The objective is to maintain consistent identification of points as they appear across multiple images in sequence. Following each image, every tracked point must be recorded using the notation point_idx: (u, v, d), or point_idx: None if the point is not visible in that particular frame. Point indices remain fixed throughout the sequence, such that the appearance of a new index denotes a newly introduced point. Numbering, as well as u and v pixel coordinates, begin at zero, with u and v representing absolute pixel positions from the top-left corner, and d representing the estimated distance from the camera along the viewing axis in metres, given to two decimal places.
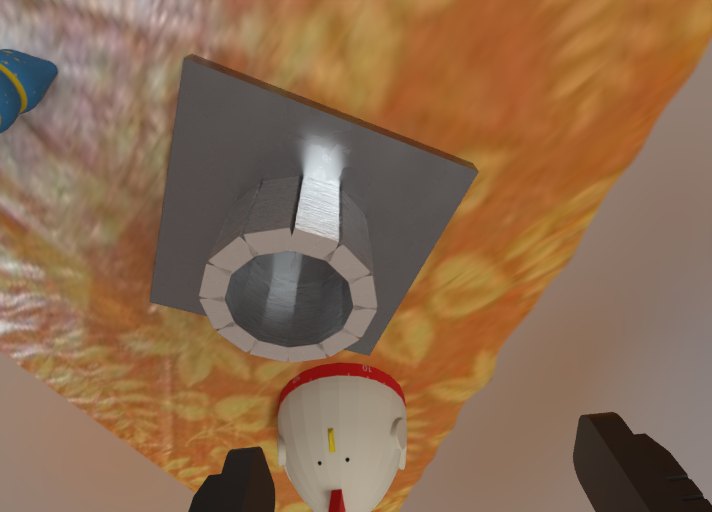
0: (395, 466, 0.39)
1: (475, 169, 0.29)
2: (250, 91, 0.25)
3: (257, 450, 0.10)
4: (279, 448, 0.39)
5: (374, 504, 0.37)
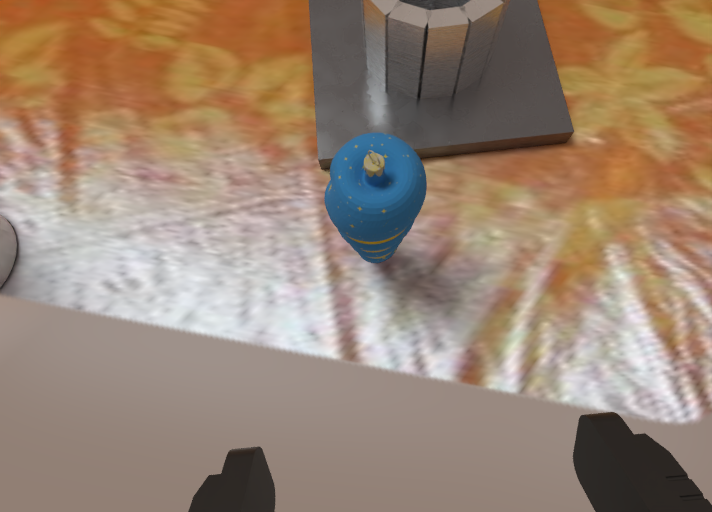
0: None
1: None
2: (321, 116, 0.34)
3: (257, 450, 0.10)
4: None
5: None
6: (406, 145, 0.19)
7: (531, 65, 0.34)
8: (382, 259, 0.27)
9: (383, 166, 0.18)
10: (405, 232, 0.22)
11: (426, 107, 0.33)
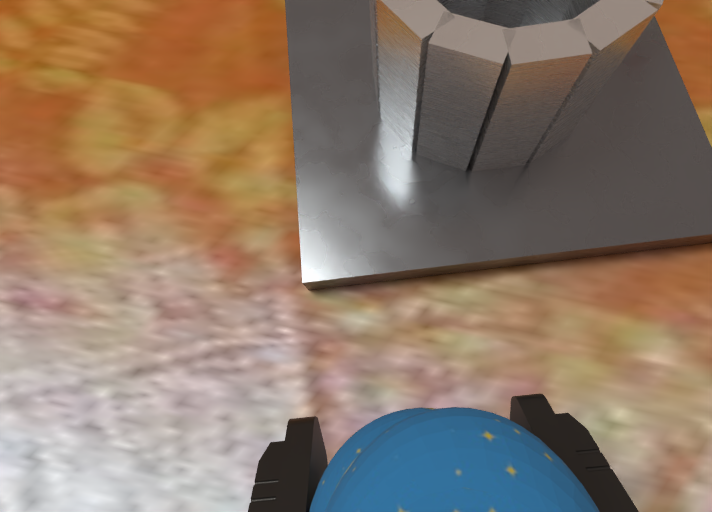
0: None
1: None
2: (306, 203, 0.20)
3: (315, 419, 0.11)
4: None
5: None
6: (565, 490, 0.06)
7: (654, 111, 0.20)
8: None
9: None
10: None
11: (483, 186, 0.20)
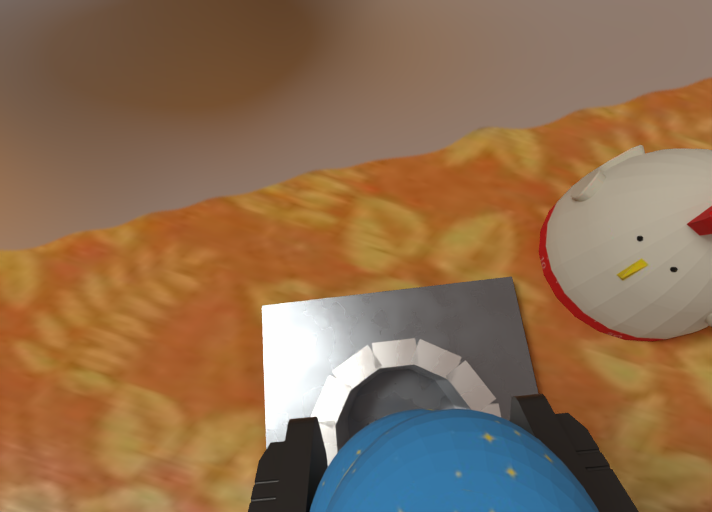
0: (629, 165, 0.28)
1: None
2: None
3: (315, 419, 0.11)
4: None
5: (694, 161, 0.24)
6: (566, 491, 0.06)
7: None
8: None
9: None
10: None
11: None
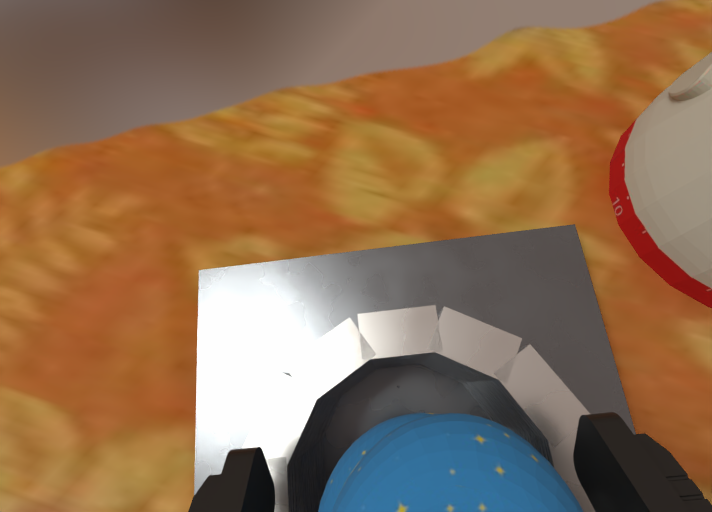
0: None
1: None
2: None
3: (257, 450, 0.10)
4: None
5: None
6: (548, 487, 0.07)
7: None
8: None
9: None
10: None
11: None
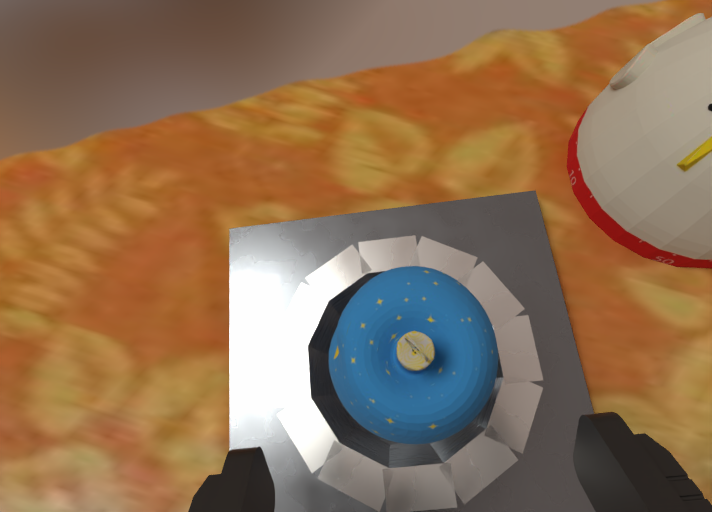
0: (689, 29, 0.22)
1: None
2: None
3: (257, 450, 0.10)
4: None
5: None
6: (464, 294, 0.12)
7: (558, 417, 0.22)
8: None
9: (432, 357, 0.10)
10: None
11: None
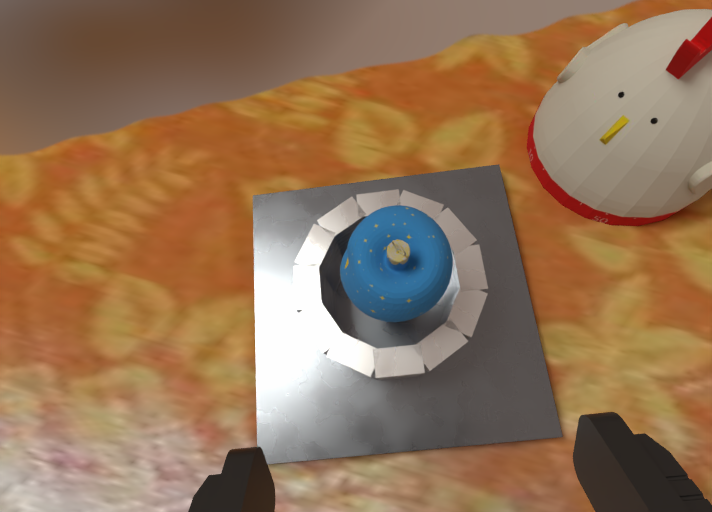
0: (612, 36, 0.28)
1: None
2: (262, 401, 0.28)
3: (257, 450, 0.10)
4: (698, 180, 0.26)
5: (674, 14, 0.25)
6: (431, 222, 0.18)
7: (511, 336, 0.28)
8: None
9: (408, 255, 0.16)
10: None
11: (386, 393, 0.28)
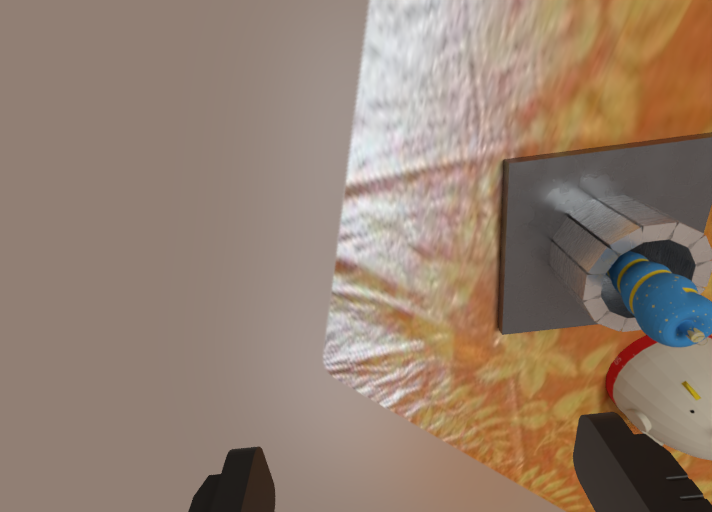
0: None
1: None
2: (552, 162, 0.38)
3: (257, 450, 0.10)
4: (640, 416, 0.47)
5: None
6: (700, 341, 0.31)
7: (562, 314, 0.46)
8: None
9: (692, 340, 0.30)
10: (632, 313, 0.35)
11: (542, 245, 0.42)
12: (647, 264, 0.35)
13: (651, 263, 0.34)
